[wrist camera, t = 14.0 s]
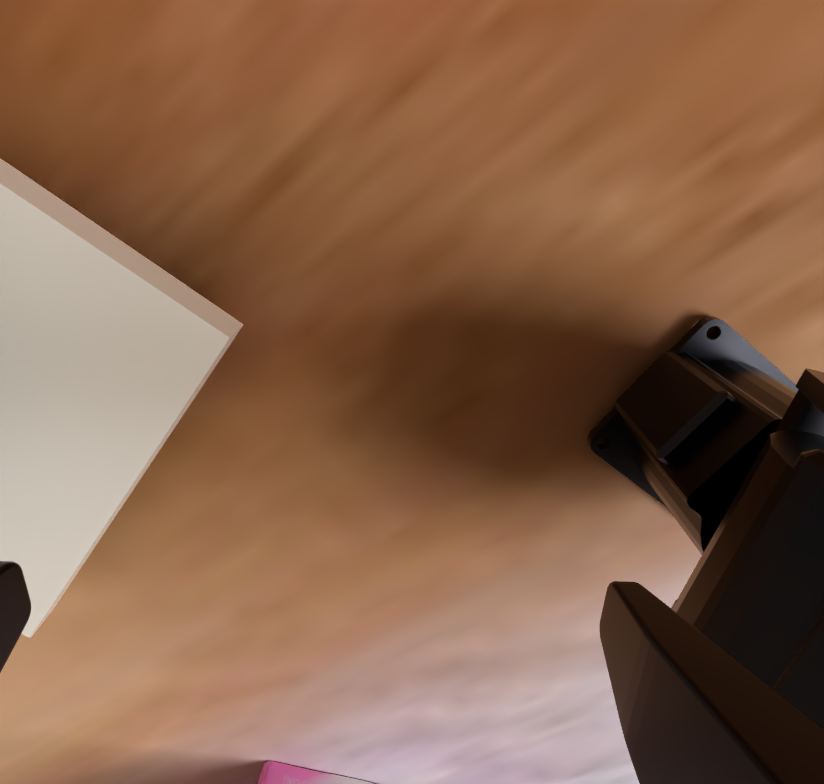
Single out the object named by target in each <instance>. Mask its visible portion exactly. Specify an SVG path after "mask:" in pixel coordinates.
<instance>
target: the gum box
mask: <svg viewBox="0 0 824 784" xmlns="http://www.w3.org/2000/svg"><path fill="white" fill-rule="evenodd" d="M257 784H374V783H371V782H367V781H364V780H359V779H354V778H349V777H345V776H340V775H335V774H329V773H323V772H318V771H313V770H309V769H305V768H300V767H296V766H292V765H287V764H283V763H279V762H275V761H267V762H265V763H264V766H263V768H262V771H261V774H260V777H259V780H258V783H257Z"/></svg>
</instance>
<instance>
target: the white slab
mask: <svg viewBox="0 0 824 784" xmlns="http://www.w3.org/2000/svg"><path fill="white" fill-rule="evenodd" d="M243 325H244V324H242V323H241V322H239V321H238V320H236V319H235V318H233V317H232V316H231V315H229V314H228V313H226V312H225V311H223V310H222V309H220V308H219V307H217V306H216V305H214V304H213V303H212V302H210V301H209V300H207V299H206V298H204V297H203V296H201V295H200V294H198V293H197V292H195V291H194V290H192V289H191V288H190V287H188V286H187V285H185V284H184V283H182V282H181V281H179V280H178V279H176V278H175V277H173V276H172V275H171V274H169V273H168V272H166V271H165V270H163V269H162V268H160V267H159V266H157V265H156V264H154V263H153V262H151V261H150V260H149V259H147V258H146V257H144V256H143V255H141V254H140V253H138V252H137V251H135V250H134V249H132V248H131V247H130V246H128V245H127V244H125V243H124V242H122V241H121V240H119V239H118V238H116V237H115V236H113V235H112V234H111V233H109V232H108V231H106V230H105V229H103V228H102V227H100V226H99V225H97V224H96V223H94V222H93V221H91V220H90V219H89V218H87V217H86V216H84V215H83V214H81V213H80V212H78V211H77V210H75V209H74V208H72V207H71V206H70V205H68V204H67V203H65V202H64V201H62V200H61V199H59V198H58V197H56V196H55V195H53V194H52V193H50V192H49V191H48V190H46V189H45V188H43V187H42V186H40V185H39V184H37V183H36V182H34V181H33V180H31V179H30V178H29V177H27V176H26V175H24V174H23V173H21V172H20V171H18V170H17V169H15V168H14V167H12V166H11V165H10V164H8V163H7V162H5V161H4V160H2V159H1V158H0V561H12V562H16V563H18V564H19V565H20V567H21V568H22V571H23V575H24V579H25V582H26V586H27V590H28V593H29V597H30V600H31V613H30V617H29V620H28V622H27V624H26V626H25V628H24V629H23V631H22V633H21V634H23V635H25V636H27V637H29V638H31V636H32V635H33V634H34V633H35V631H36V630H37V629H38V628H39V627H40V625H41V624H42V623H43V622H44V620H45V619H46V618H47V617H48V615H49V614H50V613H51V612H52V610H53V609H54V608H55V606H56V605H57V603H58V602H59V600H60V599H61V597H62V596H63V594H64V593H65V591H66V590H67V588H68V587H69V585H70V584H71V582H72V581H73V579H74V578H75V576H76V575H77V573H78V572H79V570H80V569H81V567H82V566H83V564H84V563H85V561H86V560H87V558H88V557H89V555H90V554H91V552H92V551H93V549H94V548H95V546H96V545H97V543H98V542H99V540H100V539H101V537H102V536H103V534H104V533H105V531H106V530H107V528H108V527H109V525H110V524H111V522H112V521H113V519H114V518H115V516H116V515H117V513H118V512H119V510H120V509H121V507H122V506H123V504H124V503H125V501H126V500H127V499H128V497H129V496H130V494H131V493H132V491H133V490H134V488H135V487H136V485H137V484H138V482H139V481H140V479H141V478H142V476H143V475H144V473H145V472H146V470H147V469H148V467H149V466H150V464H151V463H152V461H153V460H154V458H155V457H156V455H157V454H158V452H159V451H160V449H161V448H162V446H163V445H164V443H165V442H166V440H167V439H168V437H169V436H170V434H171V433H172V431H173V430H174V428H175V427H176V425H177V424H178V422H179V421H180V419H181V418H182V416H183V415H184V413H185V412H186V410H187V409H188V407H189V406H190V404H191V403H192V401H193V400H194V398H195V397H196V395H197V394H198V392H199V391H200V389H201V388H202V386H203V385H204V383H205V382H206V380H207V379H208V377H209V376H210V374H211V373H212V371H213V370H214V368H215V367H216V365H217V364H218V362H219V361H220V359H221V358H222V356H223V355H224V353H225V352H226V350H227V349H228V347H229V346H230V344H231V343H232V341H233V340H234V338H235V337H236V335H237V334H238V333H239V331H240V330H241V328H242V327H243Z"/></svg>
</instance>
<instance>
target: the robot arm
mask: <svg viewBox="0 0 824 784" xmlns="http://www.w3.org/2000/svg"><path fill="white" fill-rule="evenodd" d="M712 326H715V327H716V328H715V332H714V334H713V335H711V336H708V337H707V336H706V335H707V331H708V329H709V328H711V327H712ZM603 437H606V438H607V440H606V441H605V442H604V443H603V444H597V441H598V440H599V439H600V438H603ZM587 441H588V445H589V446H590V448H591V449H592V450H593V452H594V453H596V454H597V455H598V456H600V457H601V458H602V459H604V460H605V461H606V462H608V463H609V464H610V465H612V466H613V467H614V468H616V469H617V470H618V471H620V472H621V473H622V474H624V475H625V476H626V477H628V478H629V479H630V480H632V481H633V482H634V483H636V484H637V485H639V486H640V487H641V488H643V489H644V490H645V491H647V492H648V493H649V494H651V495H652V496H653V497H655V498H656V499H657V500H659V501H660V502H661V503H663V504H664V505H665V506H666V507H667V508H668V509H669V511H670V512H671V513H672V515H673V516H674V517H675V519H676V520H677V521H678V523H679V524H680V526H681V527H682V528H683V530H684V531H685V532H686V534H687V535H688V536H689V538H690V539H691V541H692V542H693V543H694V545H695V546H696V547H697V549H698V550H699V551H700V553H701V554H702V557H701V558H700V560H699V562H698V564H697V566H696V567H695V569H694V571H693V573H692V574H691V576H690V578H689V580H688V582H687V583H686V585H685V587H684V589H683V590H682V592H681V594H680V596H679V598H678V599H677V600H676V601H675V603H674V604H673V606H672V608H670V607H668V606H667V605H666V604H665V603H663V602H662V601H661V600H659V599H658V598H657V597H656V596H654V595H653V594H652V593H651V592H649V591H648V590H647V589H646V588H644V587H643V586H642V585H640V584H639V583H636V582H618V581H614V582H612V583H610V584H609V586H608V588H607V592H606V597H605V601H604V606H603V611H602V615H601V620H600V638H601V642H602V646H603V651H604V655H605V659H606V663H607V668H608V672H609V676H610V680H611V685H612V689H613V693H614V697H615V702H616V706H617V710H618V714H619V719H620V723H621V727H622V730H623V734H624V738H625V741H626V745H627V748H628V751H629V754H630V757H631V760H632V763H633V766H634V769H635V772H636V774H637V777H638V780H639V783H640V784H824V373H823V372H819V371H815V370H811V369H805V370H804V372H803V374H802V376H801V378H800V379H799V381H798V383H797V385H796V384H794V383H793V382H792V381H791V380H790V379H789V378H788V377H786V376H785V375H784V374H783V373H782V372H781V371H780V370H779V369H777V368H776V367H775V366H774V365H773V364H772V363H771V362H769V361H768V360H767V359H766V358H765V357H764V356H763V355H762V354H760V353H759V352H758V351H757V350H756V349H755V348H754V347H752V346H751V345H750V344H749V343H748V342H747V341H746V340H745V339H743V338H742V337H741V336H740V335H739V334H738V333H737V332H735V331H734V330H733V329H732V328H731V327H730V326H729V325H728V324H726V323H725V322H724V321H722V320H720V319H718V318H716V317H710V316H709V317H706V318H703V319H702V320H700V321H699V322H698V323H697V324H696V325H695V326H694V327H693V328H692V329H691V330H690V331H689V332H688V333H687V334H686V335H685V336H684V337H683V338H682V339H681V340H680V341H679V342H678V343H677V344H676V345H675V346H674V347H673V349H672V350H671V351H670V352H666V353H663V354H662V355H661V356H660V357H659V358H658V359H657V360H656V361H655V362H654V363H653V364H652V365H651V366H650V367H649V368H648V369H647V370H646V371H645V372H644V374H643V375H642V376H641V377H640V378H639V379H638V380H637V381H636V382H635V383H634V384H633V385H632V386H631V387H630V388H629V389H628V390H627V391H626V392H625V393H624V394H623V395H622V396H621V397H620V398H619V399H618V400H617V405H616V407H615V408H614V409H613V410H612V411H611V412H610V413H609V414H608V415H607V416H606V417H605V418H604V419H603V420H602V421H601V422H600V423H599V424H598V425H597V426H596V427H595V428H594V429H593V430H592V431H591V432H590V434H589V435H588V439H587ZM30 613H31V600H30V597H29V593H28V590H27V586H26V582H25V579H24V575H23V571H22V568H21V567H20V565H19V564H18V563H16V562H12V561H0V672H1V670H2V669H3V667H4V665H5V663H6V661H7V659H8V657H9V655H10V654H11V652H12V650H13V648H14V646H15V644H16V642H17V641H18V639H19V637H20V635H21V633H22V631H23V629H24V628H25V626H26V624H27V622H28V620H29V617H30Z"/></svg>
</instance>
